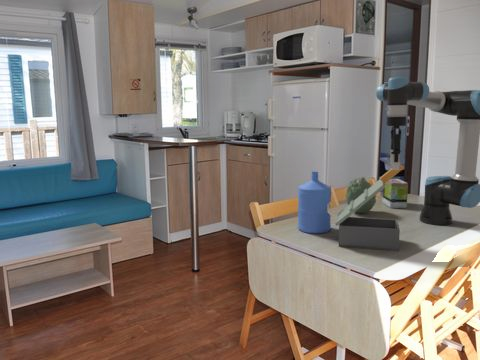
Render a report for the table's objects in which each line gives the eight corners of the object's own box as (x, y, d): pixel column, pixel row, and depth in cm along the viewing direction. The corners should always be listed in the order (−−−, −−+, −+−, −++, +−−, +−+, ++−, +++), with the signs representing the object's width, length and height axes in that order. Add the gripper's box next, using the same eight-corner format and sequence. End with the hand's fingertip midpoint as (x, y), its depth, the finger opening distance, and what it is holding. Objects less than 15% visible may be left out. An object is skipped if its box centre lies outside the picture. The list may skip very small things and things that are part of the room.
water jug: (309, 235, 197) (309, 175, 192) (291, 227, 211) (292, 171, 206) (337, 231, 203) (338, 173, 198) (318, 223, 217) (319, 168, 212)
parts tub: (396, 239, 190) (397, 219, 188) (398, 250, 175) (399, 229, 173) (340, 235, 197) (341, 216, 195) (338, 246, 182) (339, 225, 180)
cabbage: (379, 210, 239) (381, 175, 236) (369, 218, 224) (370, 181, 220) (352, 207, 248) (353, 173, 245) (340, 214, 233) (341, 178, 229)
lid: (401, 164, 184) (397, 160, 185) (405, 170, 168) (400, 165, 168) (339, 216, 196) (335, 211, 196) (336, 226, 180) (332, 221, 180)
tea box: (407, 208, 245) (408, 182, 242) (389, 208, 245) (391, 183, 243) (398, 202, 260) (399, 178, 257) (381, 202, 260) (382, 178, 257)
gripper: (385, 115, 187) (383, 163, 190) (388, 117, 163) (386, 172, 167) (403, 114, 184) (401, 163, 188) (409, 117, 161) (406, 172, 165)
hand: (394, 167), depth 178 cm, fingers open, 13 cm apart
